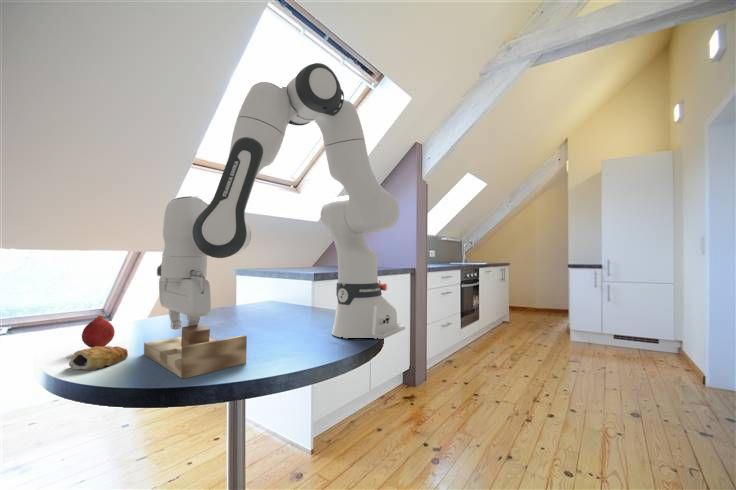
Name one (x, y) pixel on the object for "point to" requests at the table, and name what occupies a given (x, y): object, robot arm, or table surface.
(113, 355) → the pastry
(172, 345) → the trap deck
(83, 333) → the onion
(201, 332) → the walnut block
